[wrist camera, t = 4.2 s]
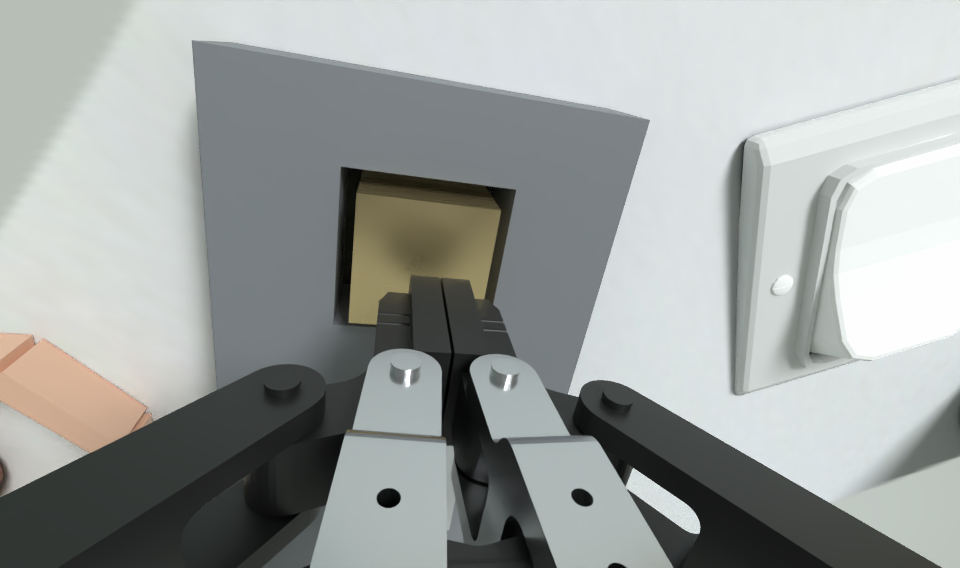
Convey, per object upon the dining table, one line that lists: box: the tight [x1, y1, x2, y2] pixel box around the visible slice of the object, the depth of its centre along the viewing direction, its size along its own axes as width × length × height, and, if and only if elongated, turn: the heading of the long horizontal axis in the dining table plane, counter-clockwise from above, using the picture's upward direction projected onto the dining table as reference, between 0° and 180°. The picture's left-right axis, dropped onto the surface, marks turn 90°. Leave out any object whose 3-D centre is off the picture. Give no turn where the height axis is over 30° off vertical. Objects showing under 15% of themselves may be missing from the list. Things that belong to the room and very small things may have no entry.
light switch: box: [735, 79, 960, 395], centre depth 20 cm, size 11×4×13 cm
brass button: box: [348, 170, 501, 325], centre depth 15 cm, size 4×4×3 cm
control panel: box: [192, 40, 650, 568], centre depth 19 cm, size 12×25×3 cm, turn 170°
